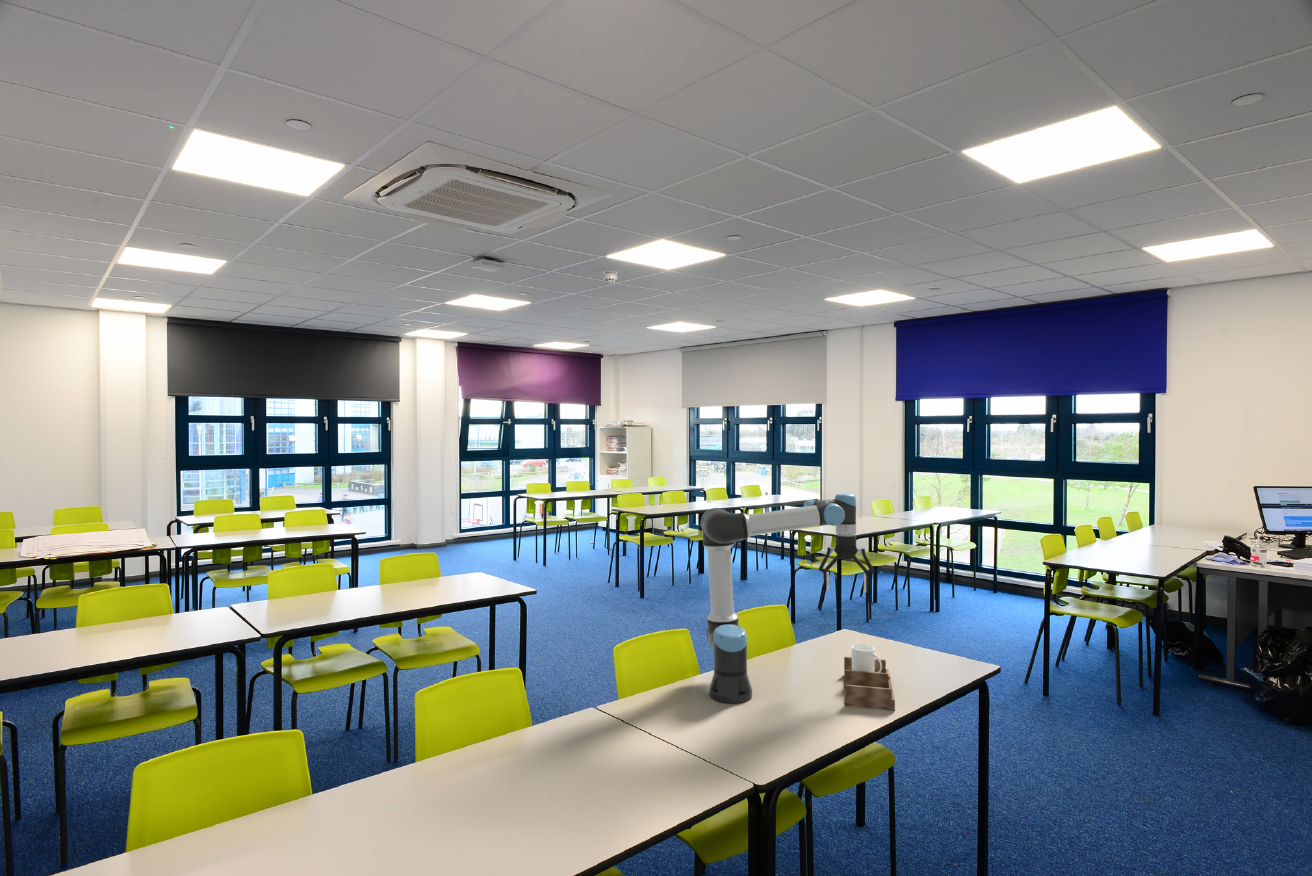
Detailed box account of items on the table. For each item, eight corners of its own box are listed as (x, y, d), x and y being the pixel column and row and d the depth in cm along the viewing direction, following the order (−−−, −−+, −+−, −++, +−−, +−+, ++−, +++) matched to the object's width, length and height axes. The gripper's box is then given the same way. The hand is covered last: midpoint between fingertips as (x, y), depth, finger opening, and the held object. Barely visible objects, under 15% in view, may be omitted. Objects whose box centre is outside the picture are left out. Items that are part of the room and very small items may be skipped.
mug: (887, 683, 242) (887, 650, 242) (873, 688, 237) (872, 655, 237) (861, 673, 252) (860, 642, 252) (846, 678, 247) (846, 646, 247)
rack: (845, 705, 226) (844, 685, 226) (844, 674, 255) (844, 656, 254) (895, 710, 221) (894, 689, 221) (888, 678, 250) (888, 659, 250)
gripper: (811, 535, 252) (812, 591, 252) (881, 537, 245) (881, 594, 245) (812, 532, 259) (812, 586, 259) (879, 534, 252) (880, 590, 252)
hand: (846, 590), depth 252 cm, fingers open, 13 cm apart
